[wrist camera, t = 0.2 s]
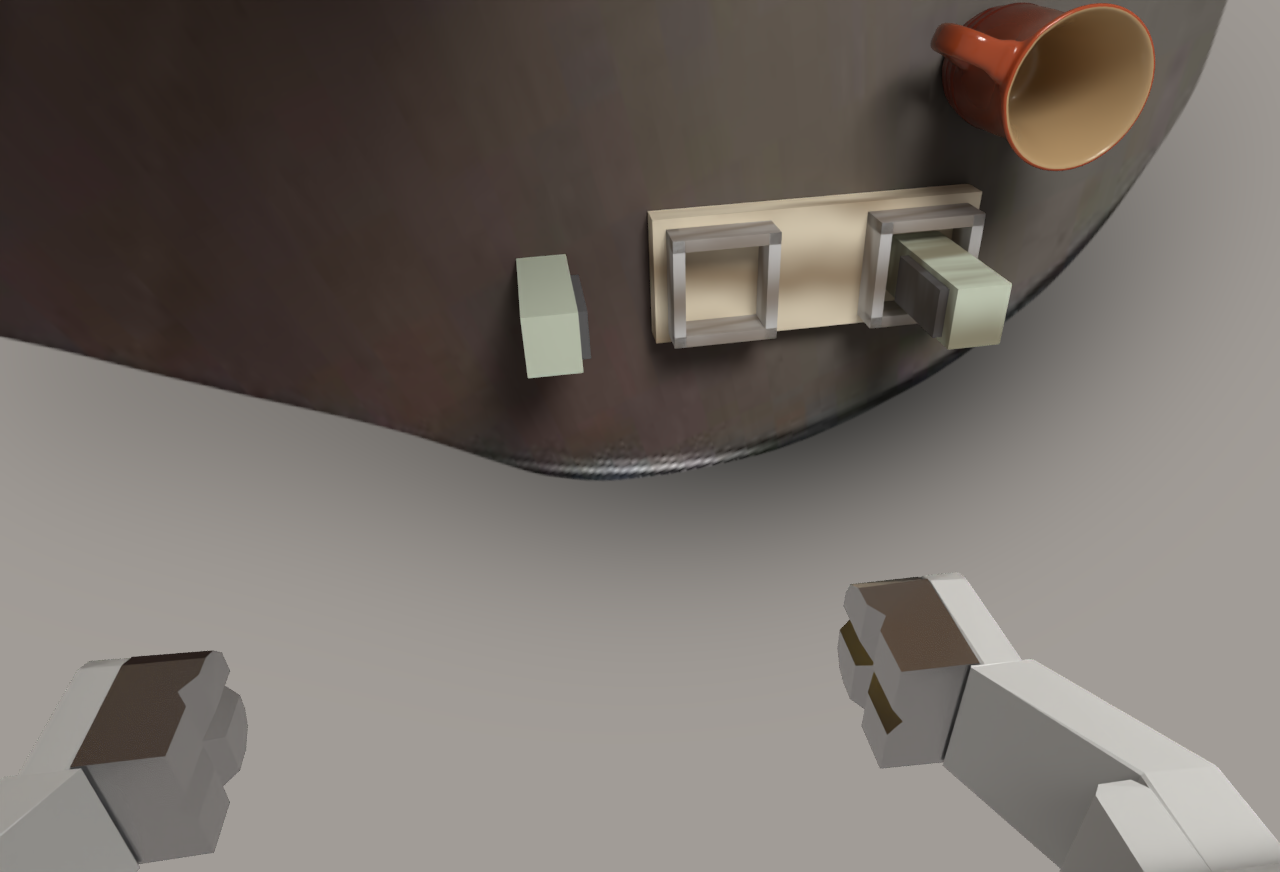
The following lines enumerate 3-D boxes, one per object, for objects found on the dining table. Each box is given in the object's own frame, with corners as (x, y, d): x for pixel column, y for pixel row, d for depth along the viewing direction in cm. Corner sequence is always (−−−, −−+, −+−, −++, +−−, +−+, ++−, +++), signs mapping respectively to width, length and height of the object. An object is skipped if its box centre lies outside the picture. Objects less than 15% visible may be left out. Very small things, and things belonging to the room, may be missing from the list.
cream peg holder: (647, 211, 57) (680, 275, 47) (968, 183, 59) (1065, 239, 49) (652, 331, 62) (682, 413, 52) (948, 301, 64) (1032, 374, 54)
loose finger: (516, 258, 57) (520, 318, 49) (574, 253, 58) (588, 311, 50) (522, 312, 60) (527, 378, 51) (579, 307, 60) (592, 371, 52)
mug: (1078, 17, 55) (1187, 38, 46) (1005, 149, 59) (1094, 190, 50) (925, -55, 51) (1013, -48, 42) (859, 90, 55) (927, 124, 46)
